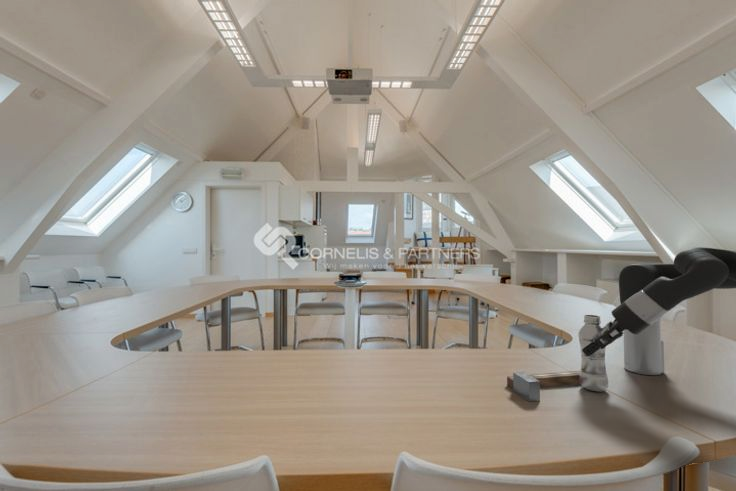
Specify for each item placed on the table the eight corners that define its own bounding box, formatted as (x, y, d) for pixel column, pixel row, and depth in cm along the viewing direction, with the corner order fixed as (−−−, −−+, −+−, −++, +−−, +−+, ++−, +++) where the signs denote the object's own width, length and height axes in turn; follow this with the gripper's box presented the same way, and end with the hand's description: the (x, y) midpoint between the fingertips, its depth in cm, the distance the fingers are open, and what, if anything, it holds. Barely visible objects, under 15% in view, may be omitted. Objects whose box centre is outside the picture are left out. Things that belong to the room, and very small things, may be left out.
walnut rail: (594, 377, 104) (594, 369, 105) (603, 381, 102) (602, 372, 102) (507, 385, 100) (507, 376, 100) (513, 389, 97) (512, 379, 97)
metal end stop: (523, 390, 97) (523, 371, 97) (540, 400, 90) (539, 381, 90) (513, 390, 96) (513, 372, 96) (529, 401, 89) (528, 382, 89)
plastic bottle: (613, 395, 92) (611, 318, 92) (584, 393, 94) (583, 318, 94) (602, 385, 98) (600, 314, 99) (575, 384, 100) (574, 313, 100)
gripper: (652, 328, 83) (595, 368, 90) (652, 318, 94) (601, 354, 101) (623, 304, 86) (571, 344, 93) (627, 297, 97) (579, 333, 104)
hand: (587, 349), depth 97 cm, fingers open, 8 cm apart
